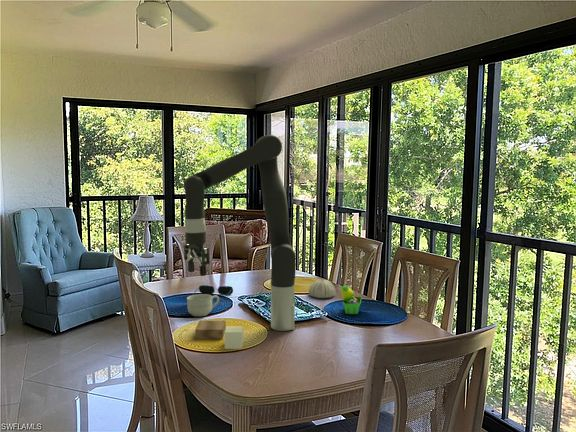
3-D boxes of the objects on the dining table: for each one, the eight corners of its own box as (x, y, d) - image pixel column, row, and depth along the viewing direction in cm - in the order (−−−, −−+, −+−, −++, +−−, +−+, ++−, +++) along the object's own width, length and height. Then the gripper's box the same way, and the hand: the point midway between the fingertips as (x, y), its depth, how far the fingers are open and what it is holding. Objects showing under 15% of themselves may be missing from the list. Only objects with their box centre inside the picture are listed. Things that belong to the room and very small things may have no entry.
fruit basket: (360, 315, 201) (360, 289, 200) (339, 314, 203) (339, 288, 202) (361, 307, 213) (362, 283, 211) (341, 306, 214) (342, 282, 213)
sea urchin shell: (326, 301, 222) (326, 284, 222) (302, 296, 230) (302, 280, 230) (340, 295, 233) (340, 279, 232) (317, 291, 241) (318, 275, 240)
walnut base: (225, 330, 183) (225, 320, 182) (222, 340, 173) (222, 329, 173) (199, 330, 183) (199, 320, 182) (195, 340, 173) (195, 329, 172)
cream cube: (243, 342, 170) (243, 326, 169) (241, 349, 164) (241, 332, 163) (226, 342, 170) (226, 326, 169) (224, 348, 164) (224, 332, 163)
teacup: (187, 319, 195) (187, 300, 194) (186, 311, 205) (185, 293, 204) (221, 316, 198) (221, 298, 197) (218, 309, 209) (218, 291, 208)
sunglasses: (233, 295, 233) (233, 285, 232) (226, 307, 219) (226, 297, 218) (199, 294, 235) (199, 284, 233) (190, 306, 220) (190, 296, 219)
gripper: (214, 231, 170) (216, 275, 172) (194, 227, 181) (196, 269, 182) (196, 233, 165) (198, 278, 167) (176, 229, 176) (178, 272, 178)
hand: (197, 273), depth 175 cm, fingers open, 8 cm apart
